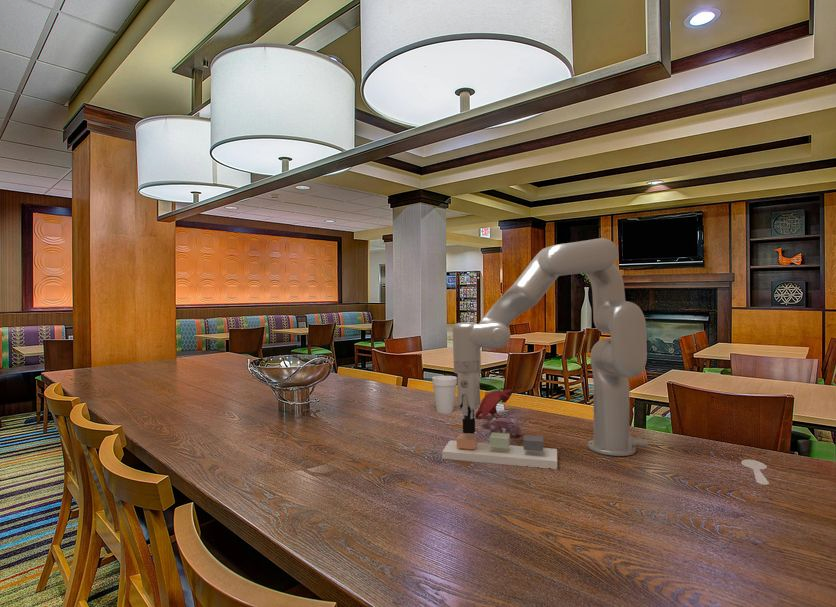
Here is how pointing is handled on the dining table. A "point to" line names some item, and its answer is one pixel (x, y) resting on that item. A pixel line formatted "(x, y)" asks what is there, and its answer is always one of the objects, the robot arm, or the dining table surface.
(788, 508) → the dining table surface
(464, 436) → the terracotta key
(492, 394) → the decorative bird sculpture
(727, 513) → the dining table surface
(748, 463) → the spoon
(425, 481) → the dining table surface
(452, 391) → the foam cup
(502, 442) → the sage key
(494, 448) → the keypad base
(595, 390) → the robot arm
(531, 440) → the charcoal key
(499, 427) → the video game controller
